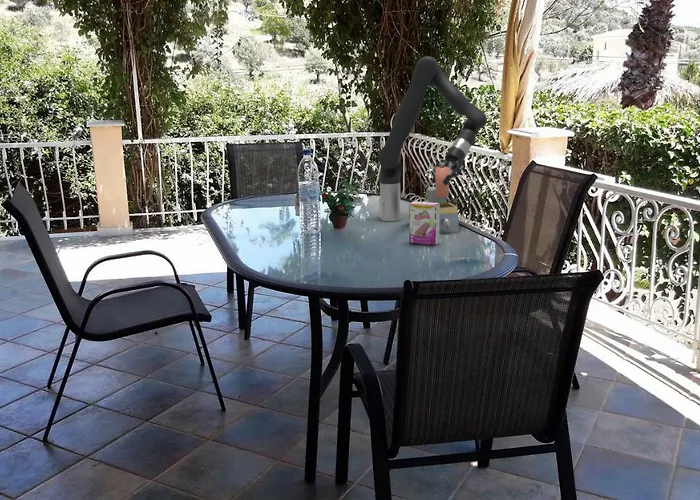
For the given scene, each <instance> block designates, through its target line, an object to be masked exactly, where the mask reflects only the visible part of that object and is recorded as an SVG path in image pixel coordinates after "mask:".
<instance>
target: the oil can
mask: <svg viewBox="0 0 700 500" xmlns="http://www.w3.org/2000/svg"><path fill="white" fill-rule="evenodd" d="M448 172H449V167H444V163H440V167H436V168H435V173H434V175H435V183H434V184H435V185H434V187H435V196H436V197H446V198H448V197H449V195H450V193H449V192H450V191H449V189H450V186H449V185H450V182H449V183H448V184H447V185H444V183H443V181H444V179H445V178H446V176H447V175H448Z"/></svg>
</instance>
